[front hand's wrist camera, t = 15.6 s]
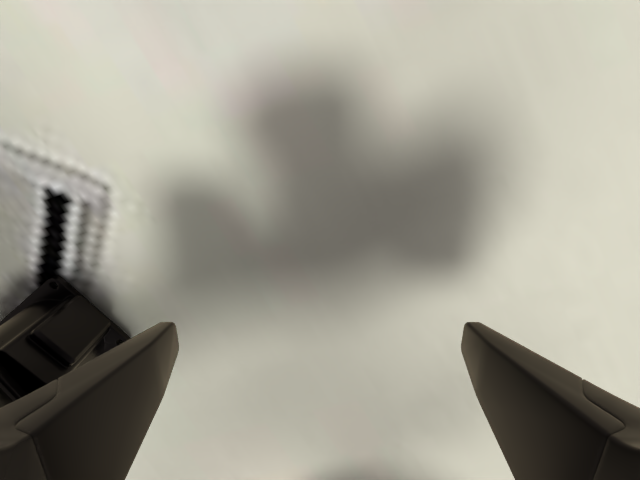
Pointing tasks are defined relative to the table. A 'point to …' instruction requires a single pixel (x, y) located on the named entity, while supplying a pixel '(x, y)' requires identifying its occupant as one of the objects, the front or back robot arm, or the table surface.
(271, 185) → the table surface
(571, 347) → the table surface
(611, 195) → the table surface
